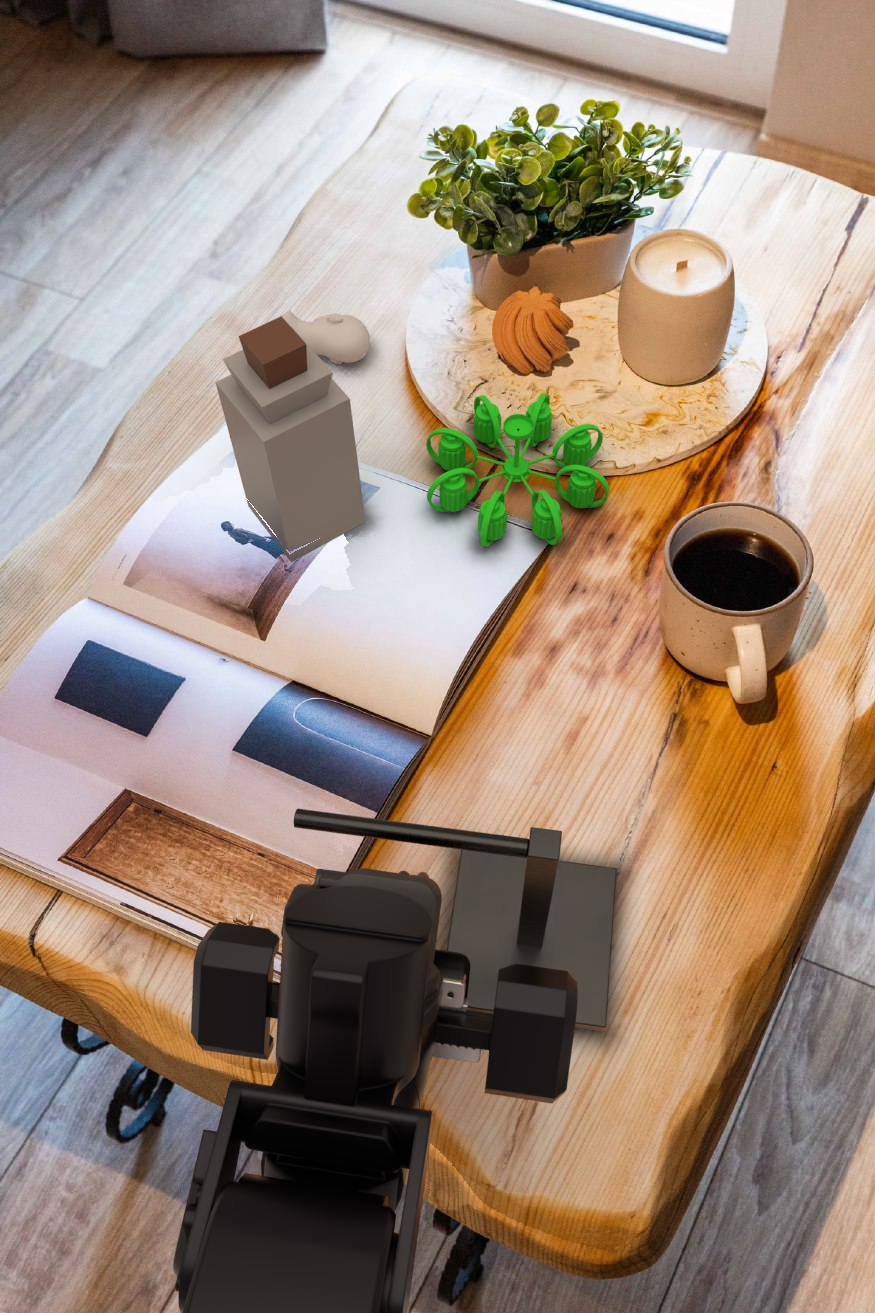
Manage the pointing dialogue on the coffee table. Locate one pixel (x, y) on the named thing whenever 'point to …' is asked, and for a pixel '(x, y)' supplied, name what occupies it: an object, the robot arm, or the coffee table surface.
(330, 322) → the beige rounded piece
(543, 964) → the hook stand
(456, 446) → the chandelier
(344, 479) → the perfume bottle
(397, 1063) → the robot arm
